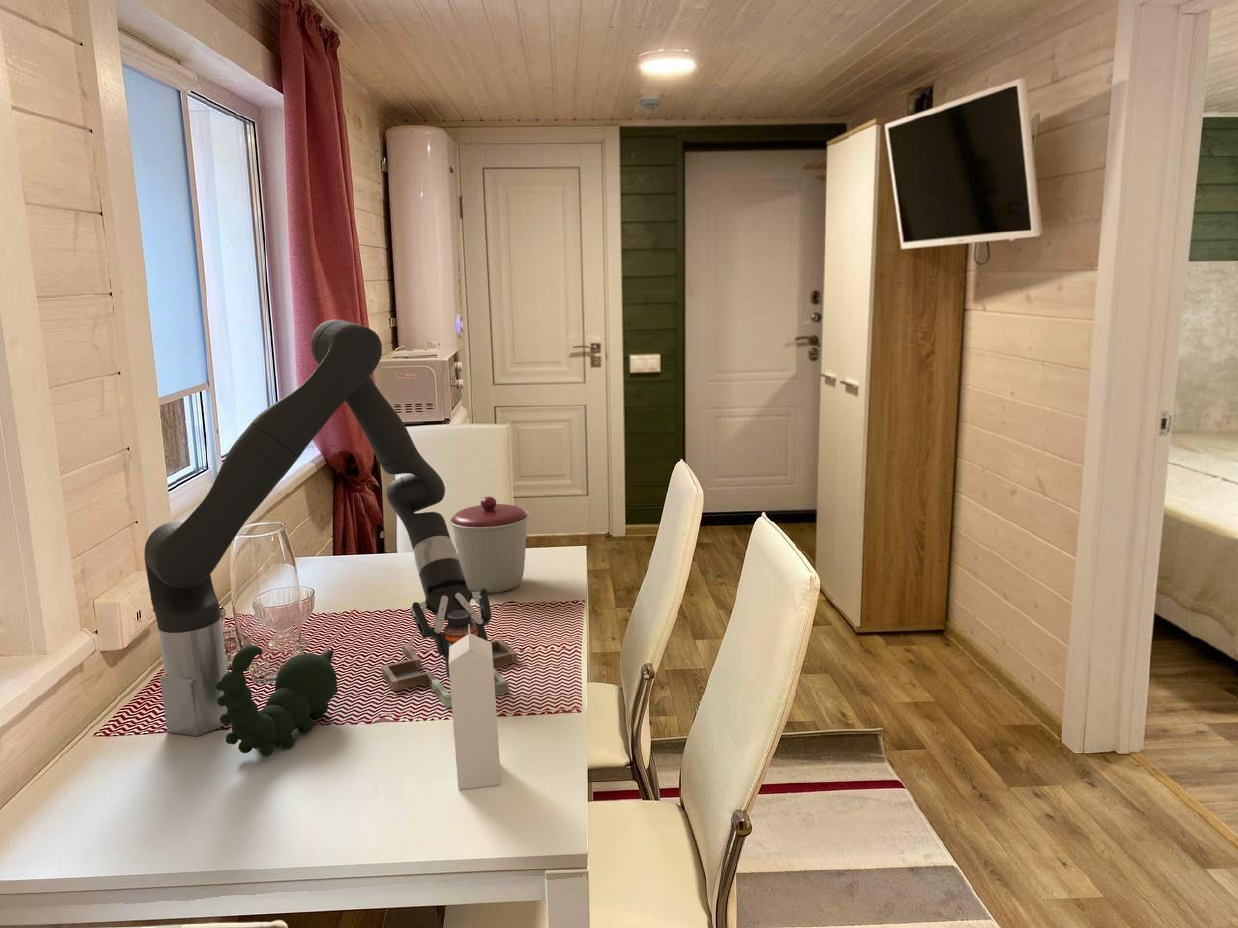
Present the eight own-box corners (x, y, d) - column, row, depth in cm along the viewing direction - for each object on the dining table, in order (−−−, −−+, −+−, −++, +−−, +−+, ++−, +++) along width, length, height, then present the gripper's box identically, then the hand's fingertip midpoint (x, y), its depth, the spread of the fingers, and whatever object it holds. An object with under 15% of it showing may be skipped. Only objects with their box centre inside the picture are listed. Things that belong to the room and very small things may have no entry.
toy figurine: (270, 785, 136) (363, 696, 159) (247, 669, 131) (347, 594, 153) (217, 777, 139) (316, 690, 162) (192, 663, 133) (298, 590, 156)
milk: (499, 763, 136) (491, 621, 132) (501, 785, 131) (492, 636, 126) (457, 768, 136) (447, 624, 131) (457, 790, 130) (446, 640, 125)
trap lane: (371, 659, 175) (370, 650, 175) (487, 634, 186) (486, 625, 185) (410, 716, 152) (409, 706, 152) (541, 683, 162) (540, 674, 162)
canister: (543, 591, 209) (538, 500, 205) (463, 604, 203) (456, 511, 199) (521, 569, 226) (516, 484, 221) (446, 580, 219) (440, 493, 215)
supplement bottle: (484, 668, 166) (480, 607, 163) (476, 682, 160) (472, 620, 157) (451, 667, 166) (447, 607, 164) (442, 682, 160) (437, 620, 158)
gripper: (473, 570, 174) (499, 651, 167) (396, 584, 168) (420, 669, 160) (480, 549, 169) (508, 633, 161) (402, 563, 162) (427, 651, 154)
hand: (464, 651), depth 160 cm, fingers closed on supplement bottle, 6 cm apart
